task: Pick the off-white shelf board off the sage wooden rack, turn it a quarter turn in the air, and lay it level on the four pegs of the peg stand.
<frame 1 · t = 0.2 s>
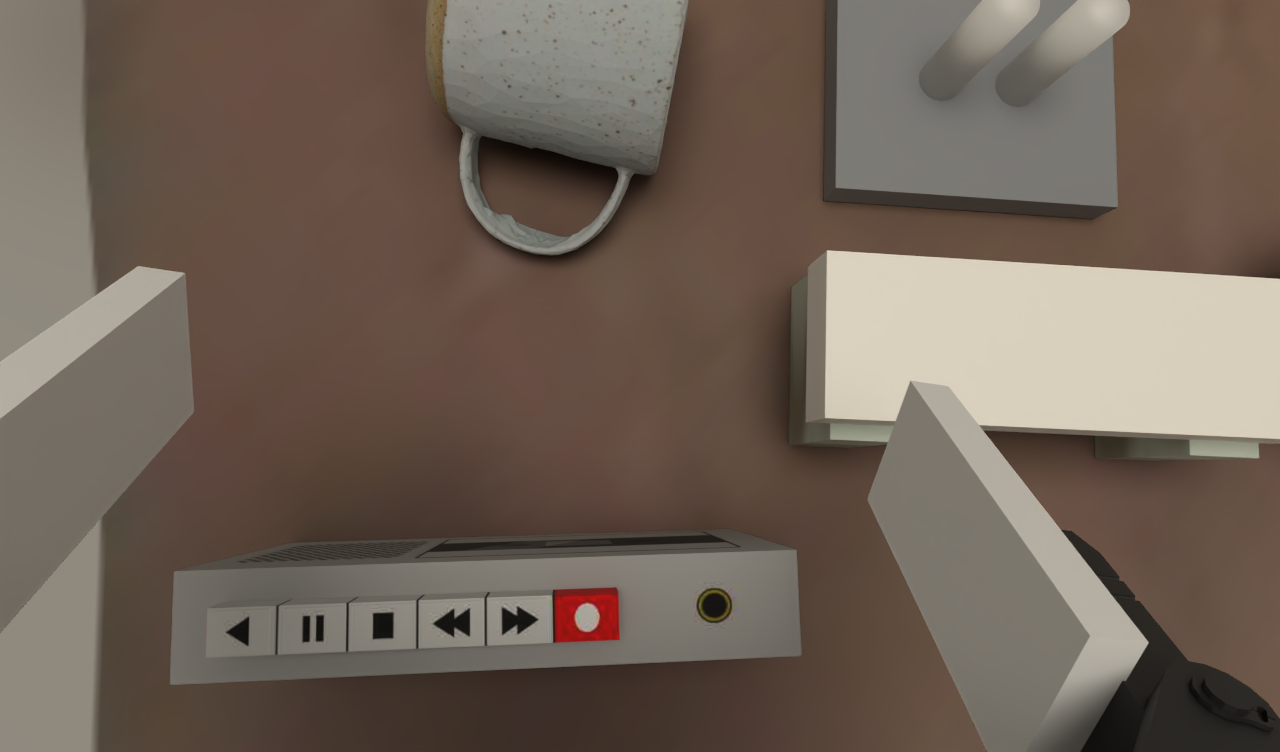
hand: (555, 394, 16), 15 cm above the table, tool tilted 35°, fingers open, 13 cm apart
cassette player: (516, 573, 30), on the table
ceramic mug: (567, 126, 33), on the table
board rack: (974, 374, 32), on the table
shelf board: (1047, 356, 28), point 5 cm above the table, touching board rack
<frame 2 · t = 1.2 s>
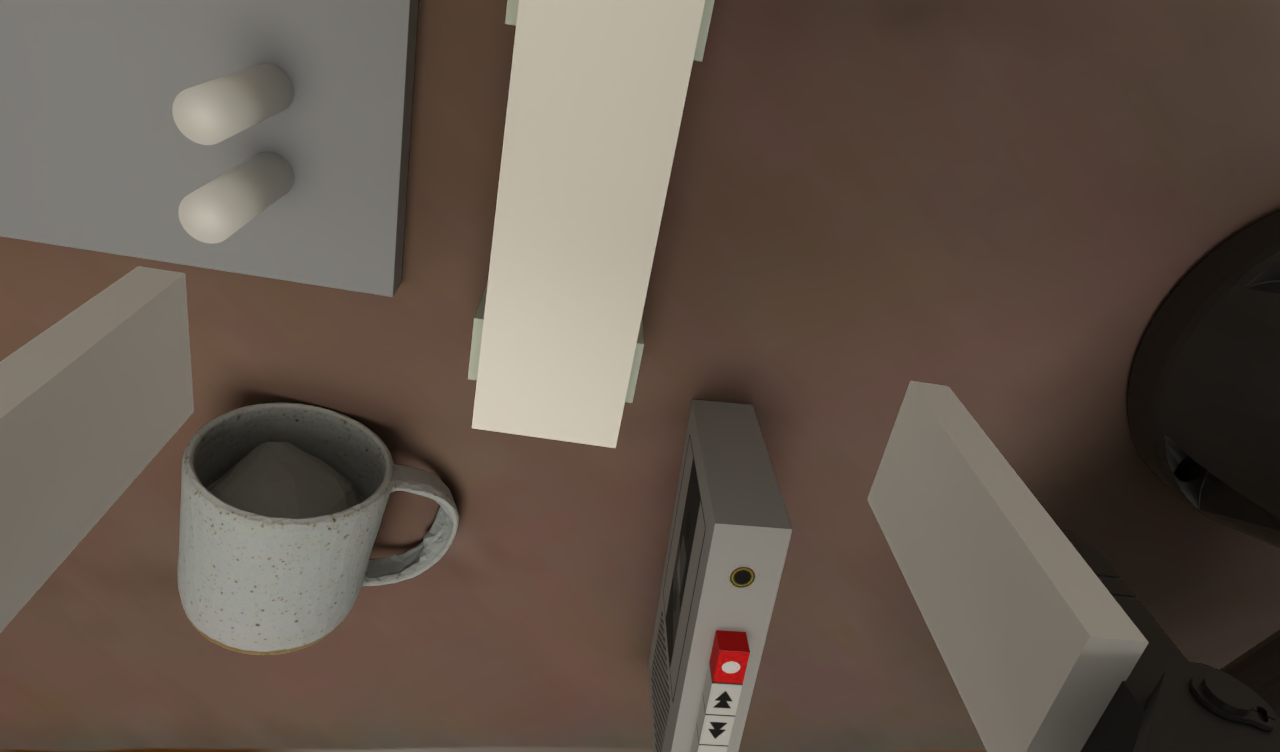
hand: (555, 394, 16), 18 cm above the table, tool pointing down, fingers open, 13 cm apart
peg stand: (112, 94, 30), on the table
cassette player: (695, 541, 41), on the table
ceramic mug: (342, 479, 38), on the table
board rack: (584, 163, 32), on the table
shelf board: (580, 198, 28), point 5 cm above the table, touching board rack
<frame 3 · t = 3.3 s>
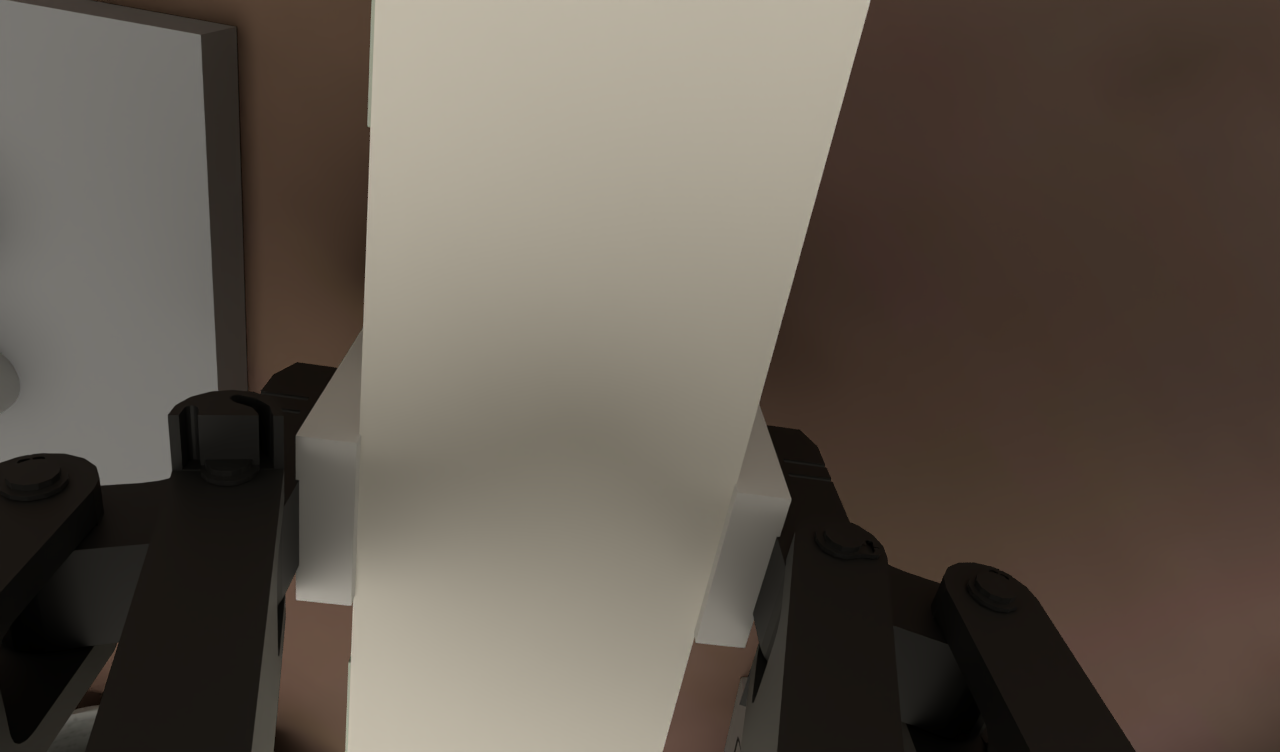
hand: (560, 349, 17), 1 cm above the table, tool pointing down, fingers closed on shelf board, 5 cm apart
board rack: (561, 334, 18), on the table
shelf board: (548, 462, 14), point 5 cm above the table, touching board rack, gripper
when the fingers open (4 cm above the table, at t = 10.0 s): shelf board stays where it is, resting on peg stand.
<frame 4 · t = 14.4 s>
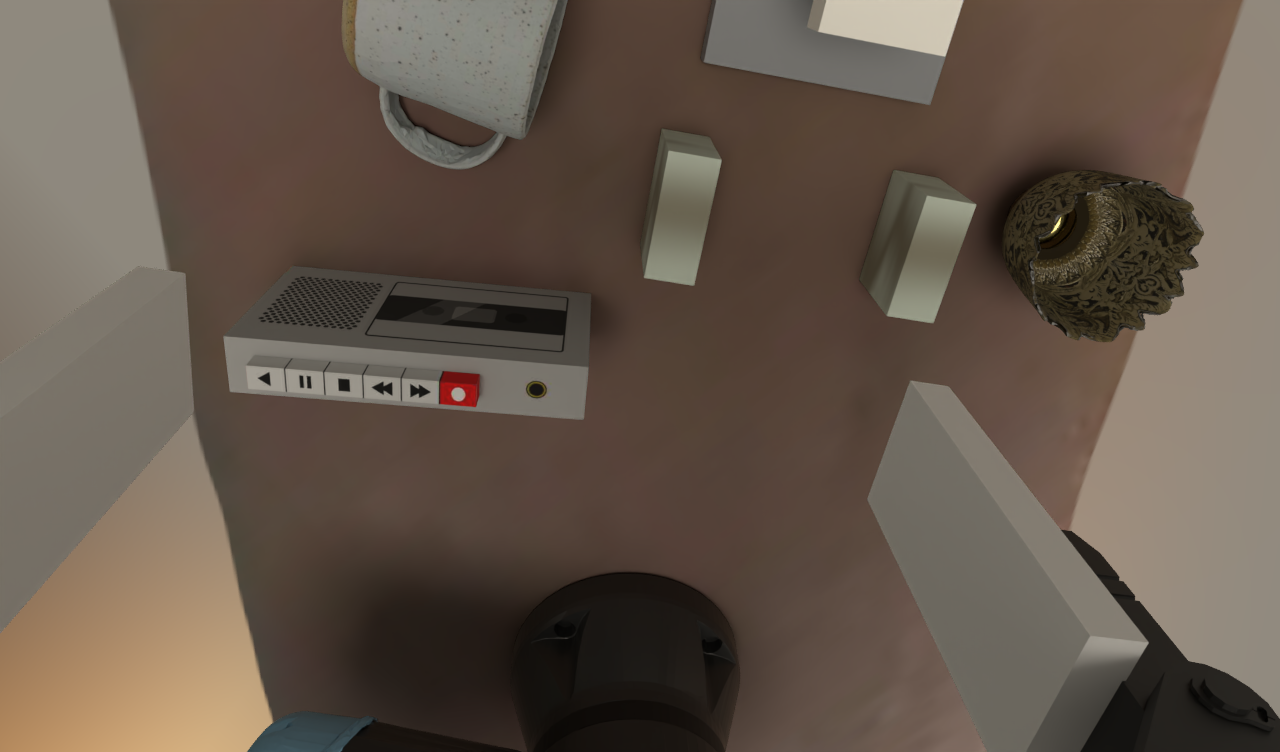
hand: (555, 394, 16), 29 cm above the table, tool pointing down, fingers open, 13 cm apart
cassette player: (444, 301, 46), on the table
cup: (1034, 213, 45), on the table
ceramic mug: (472, 46, 40), on the table
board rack: (787, 211, 44), on the table
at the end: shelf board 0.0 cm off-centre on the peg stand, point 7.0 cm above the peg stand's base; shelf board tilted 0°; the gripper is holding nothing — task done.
